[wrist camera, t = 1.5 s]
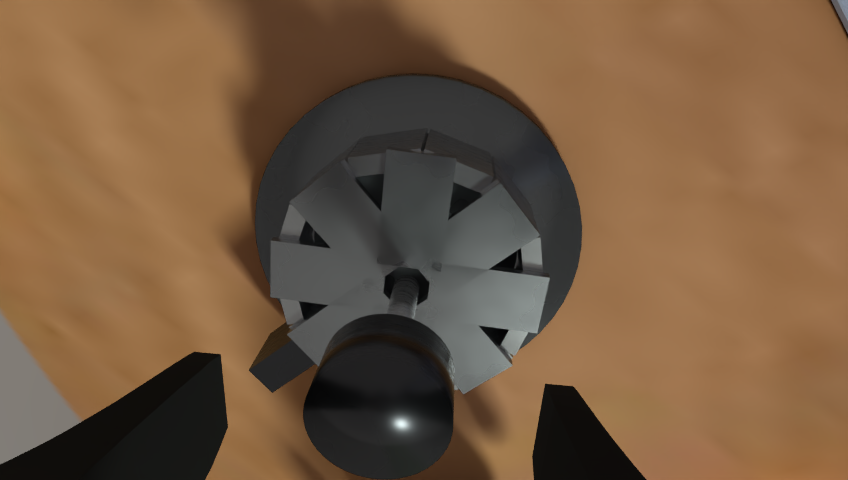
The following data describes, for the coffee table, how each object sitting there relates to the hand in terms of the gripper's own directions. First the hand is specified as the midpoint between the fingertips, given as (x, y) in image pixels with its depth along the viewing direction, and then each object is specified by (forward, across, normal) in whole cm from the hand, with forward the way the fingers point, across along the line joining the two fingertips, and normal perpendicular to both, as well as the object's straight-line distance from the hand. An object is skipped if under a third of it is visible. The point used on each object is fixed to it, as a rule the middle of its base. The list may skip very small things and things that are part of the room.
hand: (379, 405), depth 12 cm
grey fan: (+10, 0, 0) cm, 10 cm away
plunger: (+6, 0, 0) cm, 6 cm away
